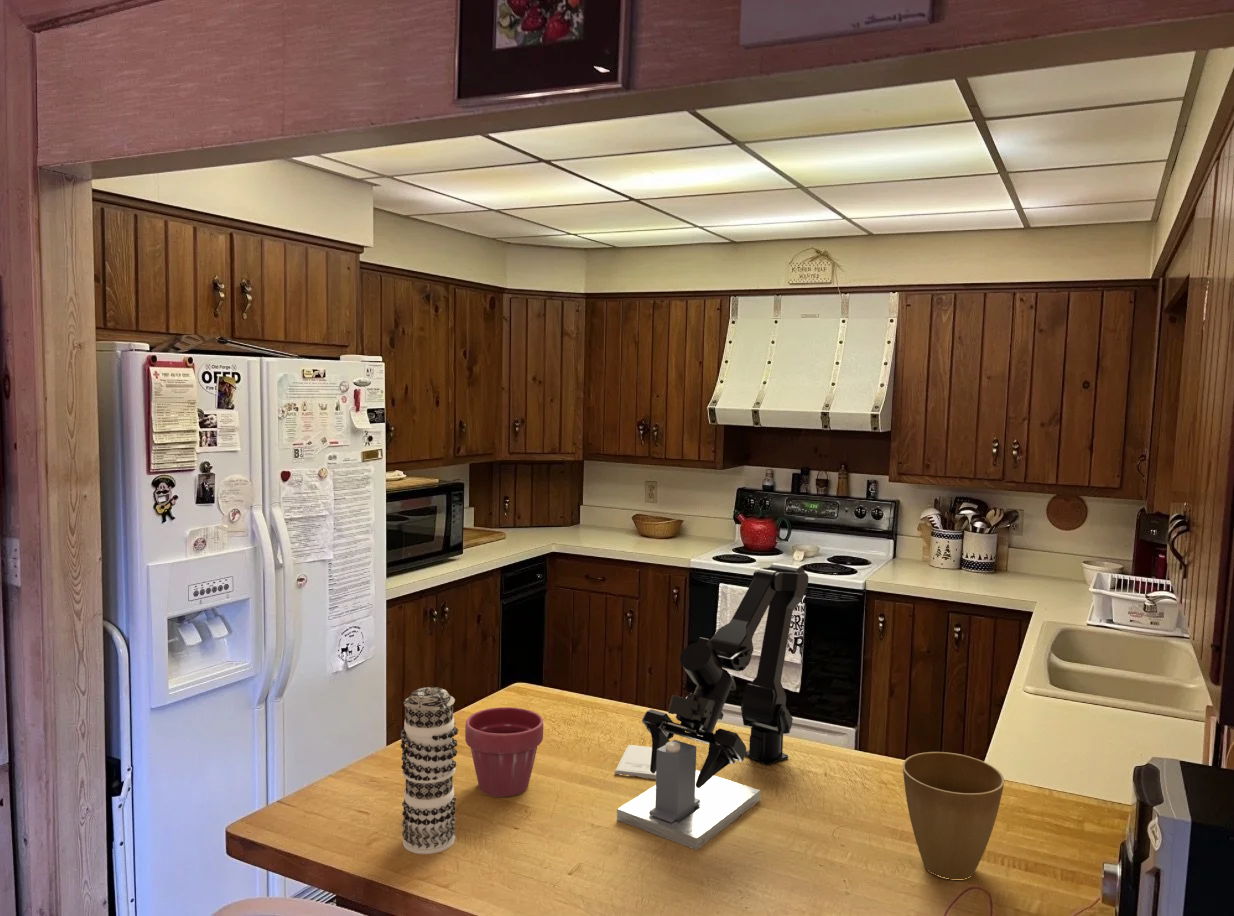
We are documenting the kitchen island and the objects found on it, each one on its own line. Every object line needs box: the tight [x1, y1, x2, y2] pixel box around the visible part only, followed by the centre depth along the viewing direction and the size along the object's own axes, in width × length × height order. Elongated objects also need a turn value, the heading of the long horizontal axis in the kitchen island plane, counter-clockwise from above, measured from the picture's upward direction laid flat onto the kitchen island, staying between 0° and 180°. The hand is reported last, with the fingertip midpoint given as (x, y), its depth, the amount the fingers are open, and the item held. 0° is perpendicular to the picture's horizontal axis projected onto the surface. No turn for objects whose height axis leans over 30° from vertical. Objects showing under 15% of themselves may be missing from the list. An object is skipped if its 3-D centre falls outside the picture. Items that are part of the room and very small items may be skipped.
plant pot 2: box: [902, 751, 1005, 879], centre depth 143 cm, size 15×15×16 cm
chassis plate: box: [616, 769, 761, 851], centre depth 161 cm, size 22×16×2 cm
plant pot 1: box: [464, 706, 544, 798], centre depth 168 cm, size 14×14×13 cm
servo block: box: [649, 739, 700, 823], centre depth 156 cm, size 9×4×14 cm, turn 143°
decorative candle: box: [399, 686, 459, 855], centre depth 148 cm, size 9×9×25 cm
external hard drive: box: [614, 744, 656, 780], centre depth 180 cm, size 2×8×12 cm
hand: (674, 779), depth 156 cm, fingers open, 9 cm apart
